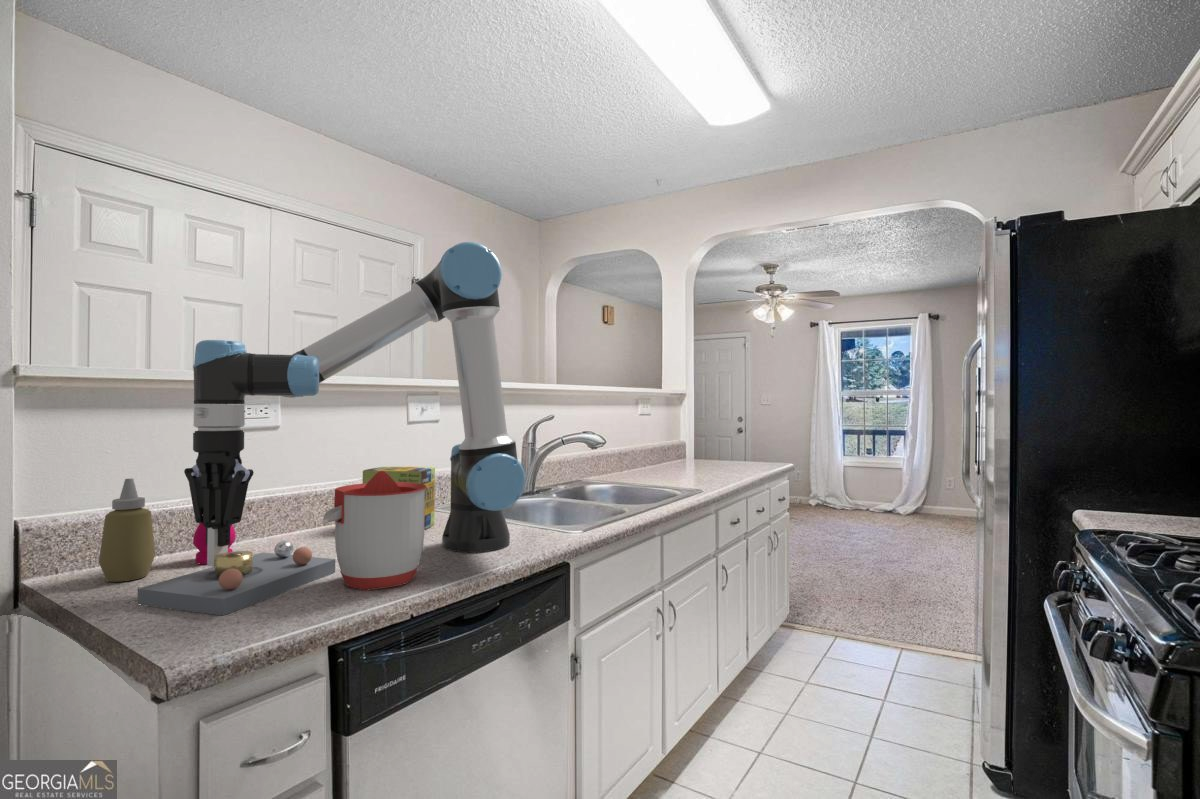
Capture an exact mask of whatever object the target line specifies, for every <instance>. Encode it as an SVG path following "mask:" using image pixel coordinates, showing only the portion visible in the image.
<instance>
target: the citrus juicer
mask: <svg viewBox="0 0 1200 799" xmlns="http://www.w3.org/2000/svg"><path fill="white" fill-rule="evenodd" d="M425 489H426V486H425V485H423V484H419V483H409V482H395V481H394V480H393V479H392V478H391V477H390V476H389V475H388V474H387V473H386V472H384V471H382V470H381V471H379V472H378V473H377V474H375V475H374V476H373V477H372V478H371V479H370V481H369V482H368V483H363V482H362V483H357V484H356V483H355V484H354V483H353V484H348V485H342V486H339V487H336V488H335V489H334V500H333V501H334V503H333V505H334V506H333V508H331V509H329V510H327V511H326V512H325V513H324V516H323V519H322V521H323V523H324V524H328V523H332V522H335V524H334V525H335V526H334V531H335V532H334V540H335V541H334V544H335V546H334V547H335V553H336V558H337V559H336V560H337V563H338V566H339V570H340V575H341V577H342V579H343V581H344V583H345V585H346V586H347V587H351V588H354V589H359V590H361V591H364V590H366V591H371V589H372V590H376V589H385V588H386V589H387V588H393V587H397V586H401V585H405V584H404V583H407V582H408V583H410V581H412V580H413V579H414V578H415V575H416V573H417V571H418V569H419V564H420V560H421V557H422V553H423V546H424V540H425V531H424V512H425ZM408 583H407V584H408Z"/></svg>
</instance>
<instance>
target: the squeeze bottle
mask: <svg viewBox="0 0 1200 799" xmlns="http://www.w3.org/2000/svg"><path fill="white" fill-rule="evenodd" d="M137 491H138V490H137V487H136V484H135V481H134V478H132V477H131V478H125V479H124V481H123V486H122V488H121V492H120V496H119V498H115V499H112V502H111V509H112V510H111V511H109V512H108V513H106V515H105V516H104V522H103V523H104V524H103V530H102V537H101V544H100V550H99V558H98V564H99V567H100V568H101V570H102V574H103V576H104V577H105V581H107V582H110V583H123V581H124V582H131V581H135V580H138V579H142V578H145V577H147V576H148V574H149V572H150V570H151V567H152V565H153V562H154V559H155V556H156V547H155V536H154V526H153V518H152V511H151V510H149V509H148V508H144V507H145V506H146V498H145V497H140V496H138V492H137ZM130 580H131V581H130Z"/></svg>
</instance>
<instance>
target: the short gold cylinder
mask: <svg viewBox="0 0 1200 799" xmlns="http://www.w3.org/2000/svg"><path fill="white" fill-rule="evenodd" d="M253 555H254V554H253V552H252V551H250V550H235V551H233V552H227V553H222V554H219V555H216V556H215V576H218V577H220V575H221V574H222V573H223V572H224V571H225V570H228V569H237V570H239V571H240V572H241V573H242V575H243V574H247V573H249V572H251V571H252V557H253Z"/></svg>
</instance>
